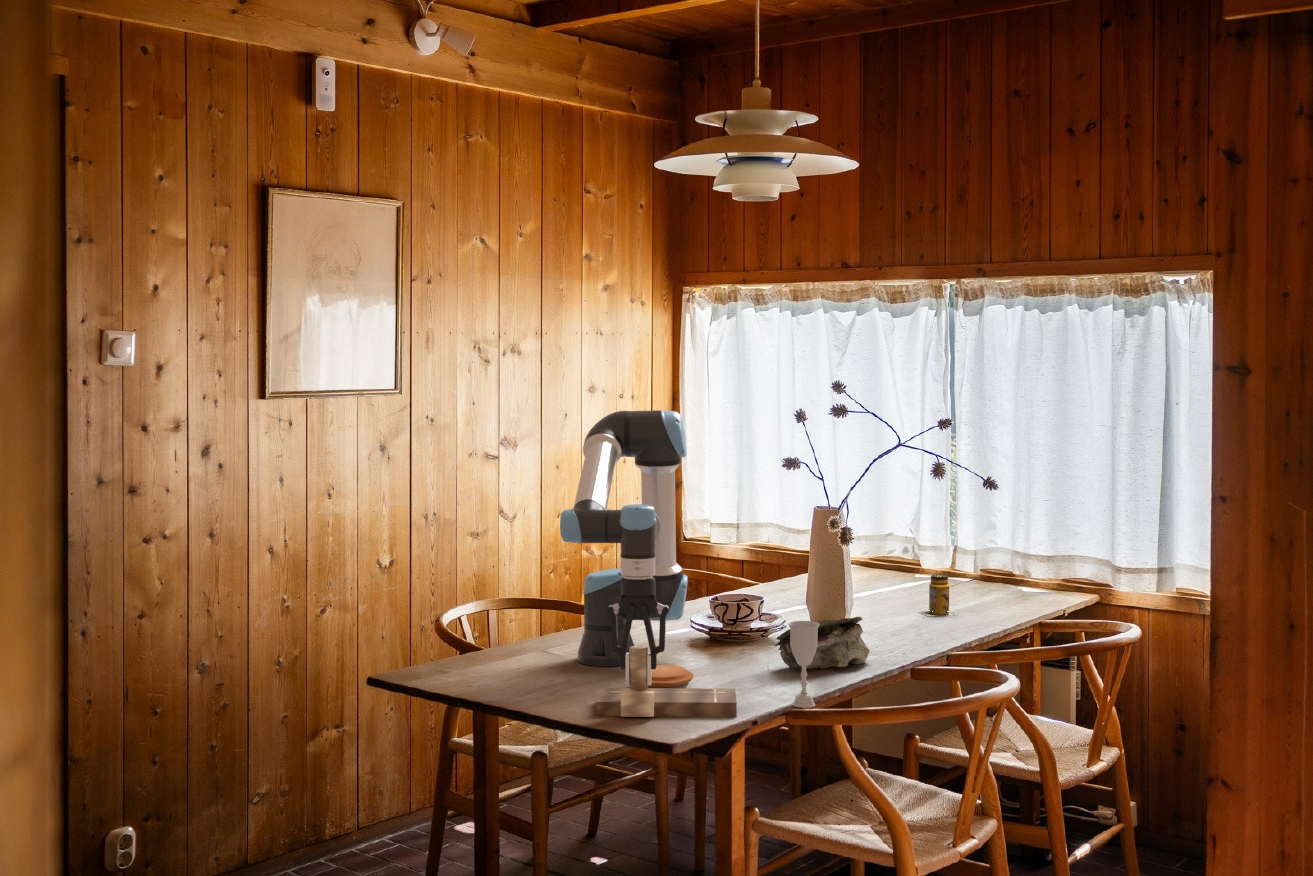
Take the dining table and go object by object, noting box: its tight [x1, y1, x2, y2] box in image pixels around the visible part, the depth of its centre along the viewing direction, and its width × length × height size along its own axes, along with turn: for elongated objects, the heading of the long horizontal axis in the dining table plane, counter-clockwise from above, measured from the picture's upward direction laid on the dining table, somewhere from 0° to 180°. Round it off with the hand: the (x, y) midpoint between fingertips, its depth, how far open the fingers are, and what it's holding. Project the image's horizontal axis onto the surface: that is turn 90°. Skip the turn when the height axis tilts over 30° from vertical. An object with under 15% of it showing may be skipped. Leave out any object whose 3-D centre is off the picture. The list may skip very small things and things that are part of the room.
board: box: [595, 687, 738, 718], centre depth 264 cm, size 30×12×3 cm, turn 88°
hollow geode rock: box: [773, 616, 870, 674], centre depth 301 cm, size 28×13×15 cm
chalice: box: [787, 620, 820, 709], centre depth 266 cm, size 7×7×18 cm
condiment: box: [918, 574, 954, 617], centre depth 373 cm, size 7×8×12 cm
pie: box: [648, 664, 695, 688], centre depth 281 cm, size 16×16×5 cm
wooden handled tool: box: [620, 645, 655, 718], centre depth 261 cm, size 7×11×14 cm, turn 178°
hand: (638, 683), depth 261 cm, fingers closed on wooden handled tool, 4 cm apart
